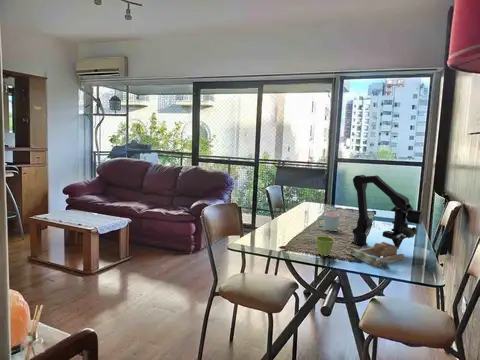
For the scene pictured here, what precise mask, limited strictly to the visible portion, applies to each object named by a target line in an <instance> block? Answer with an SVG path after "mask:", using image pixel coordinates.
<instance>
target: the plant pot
mask: <svg viewBox="0 0 480 360" xmlns="http://www.w3.org/2000/svg"><path fill="white" fill-rule="evenodd" d="M315 240H316V244H317V255H318V254H320V255H330V256H331V254H332V253H331V252H332V247H333V244H334V242H335V239H334V238H333V237H330V236H323V235H319V236H316V237H315Z"/></svg>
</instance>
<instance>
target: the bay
mask: <svg viewBox="0 0 480 360" xmlns="http://www.w3.org/2000/svg"><path fill="white" fill-rule="evenodd" d="M373 252H374V246H371V247H366V248H359V249H356V248H354V247H352V248H351V247H350V254H351V255H353V256H355V257H357V258H359V259H360V260H359V259H358V260H359V261H361V260H362V261H361V262H363V261H364V263H366V264H368V265H371V266H372V267H377V265H378V264H380V257H379V258H377V257H376V256H374V255H371V254H373ZM404 258H405V254H404V253H397V255H393V256H388V258H387V264H388V263H393V262H398V261H401V260H404Z"/></svg>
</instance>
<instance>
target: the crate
mask: <svg viewBox="0 0 480 360" xmlns="http://www.w3.org/2000/svg"><path fill="white" fill-rule="evenodd" d="M373 247H374V252H373V253H372V255H373V256H375V257H376V256H377V257H379V258H380V256H383V253H385V256H387V257H388V256H393V255H397V254H398V249H397V247H396V246H395V245H394V244H391V243H388V242H385V241H381V242H379V243H378V242H375V244H373Z"/></svg>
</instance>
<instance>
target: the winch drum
mask: <svg viewBox="0 0 480 360" xmlns="http://www.w3.org/2000/svg"><path fill="white" fill-rule="evenodd" d="M379 258H380V264H378V265H376V267H377V268H379V269H382V270H386V269H390V266H389V265H388V263H387V258H388V257H387V256H385V253H383V256H380V257H379Z"/></svg>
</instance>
